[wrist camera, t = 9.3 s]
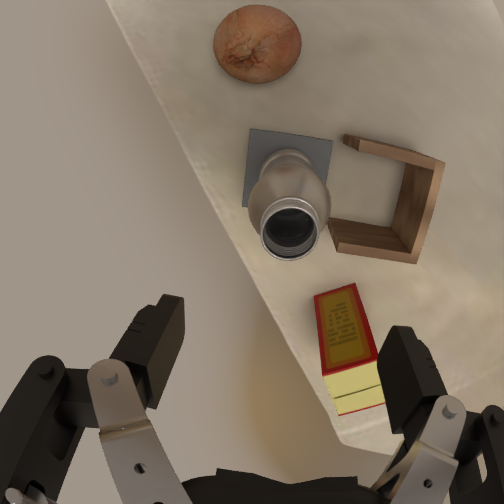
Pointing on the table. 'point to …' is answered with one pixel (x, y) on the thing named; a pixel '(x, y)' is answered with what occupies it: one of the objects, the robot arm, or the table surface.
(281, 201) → the plastic bottle
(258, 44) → the onion
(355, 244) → the walnut rack
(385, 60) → the table surface
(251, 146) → the rubber mat
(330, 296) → the baking soda box
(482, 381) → the table surface
